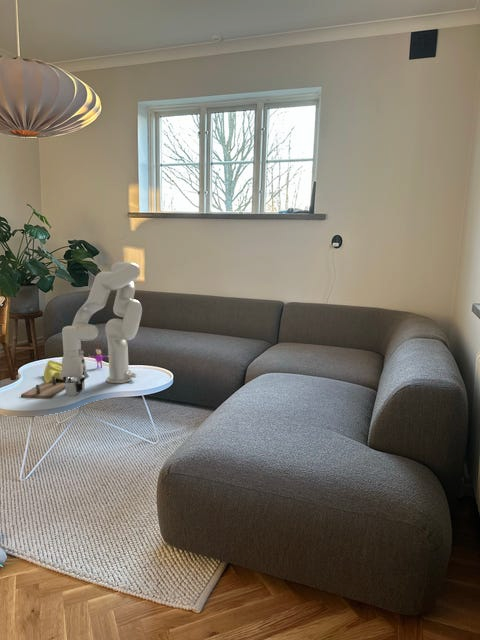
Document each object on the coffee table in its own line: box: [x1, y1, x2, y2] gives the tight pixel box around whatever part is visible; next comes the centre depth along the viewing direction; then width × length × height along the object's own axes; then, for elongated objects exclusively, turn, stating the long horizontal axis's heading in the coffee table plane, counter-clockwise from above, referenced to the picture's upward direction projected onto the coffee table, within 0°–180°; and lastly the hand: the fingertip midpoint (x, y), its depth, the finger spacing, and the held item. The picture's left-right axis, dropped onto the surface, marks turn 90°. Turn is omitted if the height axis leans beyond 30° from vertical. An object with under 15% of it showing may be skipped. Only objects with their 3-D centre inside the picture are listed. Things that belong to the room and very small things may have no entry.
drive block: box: [64, 376, 86, 397], centre depth 198 cm, size 4×10×6 cm, turn 173°
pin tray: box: [20, 376, 66, 399], centre depth 199 cm, size 14×18×5 cm
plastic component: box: [43, 359, 73, 383], centre depth 220 cm, size 20×8×10 cm
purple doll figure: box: [88, 347, 109, 369], centre depth 238 cm, size 11×3×12 cm, turn 95°
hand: (75, 390), depth 198 cm, fingers closed on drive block, 4 cm apart
